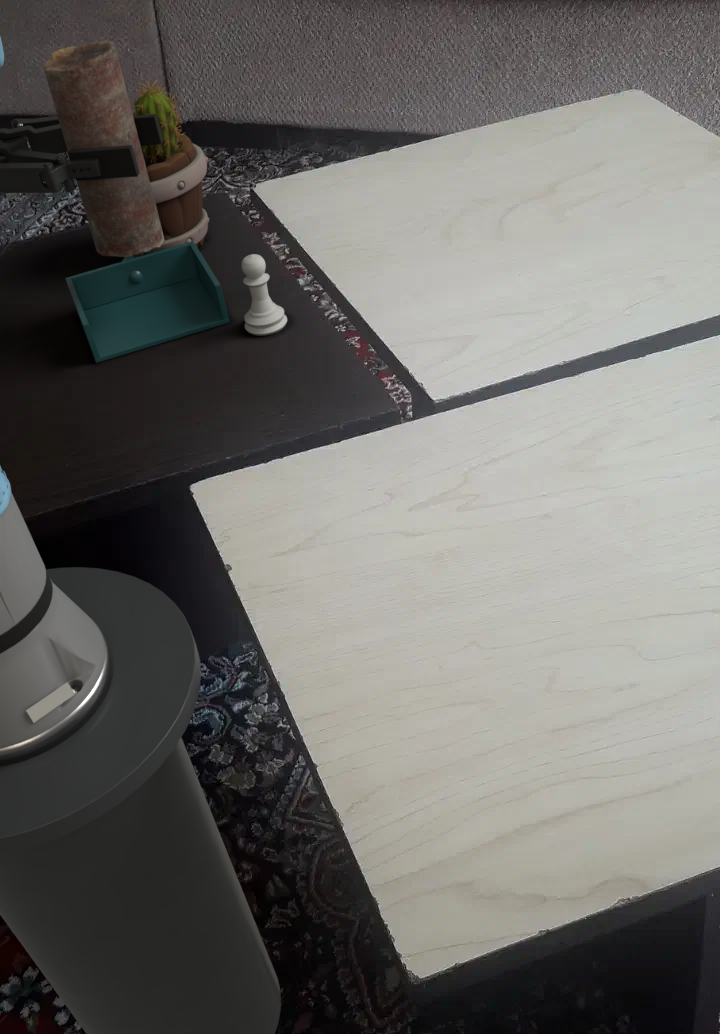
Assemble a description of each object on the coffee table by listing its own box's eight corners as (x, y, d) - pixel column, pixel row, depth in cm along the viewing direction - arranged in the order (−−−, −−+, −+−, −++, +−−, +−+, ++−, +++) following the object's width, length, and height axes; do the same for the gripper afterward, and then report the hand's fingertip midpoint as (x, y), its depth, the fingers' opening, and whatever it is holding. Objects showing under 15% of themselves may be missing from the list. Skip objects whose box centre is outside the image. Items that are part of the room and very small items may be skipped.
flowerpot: (84, 273, 131) (27, 102, 117) (147, 217, 140) (101, 53, 126) (185, 281, 126) (138, 103, 112) (243, 222, 135) (207, 51, 121)
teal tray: (229, 322, 117) (220, 284, 114) (96, 363, 115) (82, 325, 111) (194, 264, 128) (185, 228, 125) (72, 300, 126) (60, 264, 123)
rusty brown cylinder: (153, 267, 111) (99, 59, 97) (88, 269, 112) (25, 64, 98) (174, 235, 116) (126, 33, 102) (112, 236, 118) (56, 38, 104)
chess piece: (281, 336, 113) (267, 265, 108) (240, 337, 114) (223, 267, 109) (292, 313, 116) (278, 243, 111) (251, 314, 118) (236, 245, 112)
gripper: (-7, 157, 120) (184, 142, 115) (-87, 239, 106) (126, 227, 101) (-33, 86, 115) (166, 68, 110) (-121, 163, 101) (102, 146, 96)
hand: (146, 144), depth 106 cm, fingers closed on rusty brown cylinder, 7 cm apart
